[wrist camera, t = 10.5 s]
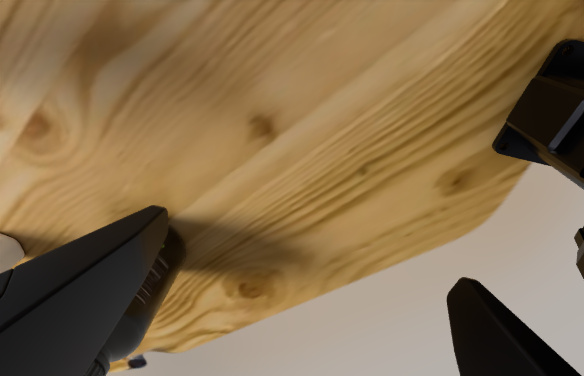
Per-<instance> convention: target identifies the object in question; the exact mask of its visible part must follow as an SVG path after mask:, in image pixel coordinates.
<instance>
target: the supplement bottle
mask: <svg viewBox="0 0 584 376" xmlns="http://www.w3.org/2000/svg"><path fill="white" fill-rule="evenodd" d="M185 256H186V251H185V247H184V244H183V242H182V240H181V238H180V237H179V236H178V235H177V233H176V232H175V231H174V230H172V229H171V228H170V227H168V233H167V236H166V238H165V240H164V242H163V244H162V246H161V248H160V250H159V252H158V254H157V256H156V258H155V260H154V262H153V264H152V267H151V269H150V271H149V273H148V275H147V276H146V278H145V280H144V282H143V284H142V285H141V287H140V289H139V290H138V292H137V293H136V295H135V296H134V298H133V299H132V301H131V303H130V304H129V306H128V307H127V309H126V310H125V312H124V314H123V315H122V317H121V318H120V320H119V321H118V323H117V324H116V326H115V328H114V329H113V331H112V332H111V334H110V335H109V337H108V338H107V340H106V342H105V343H104V345H103V346H102V348H101V349H100V351H99V352H98V354H97V356H96V357H95V359H94V360H93V362H92V363H91V365H90V366H89V368H88V370H87V371H86V373H85V374H84V376H106V374H107V373H108V371H109V369H110V363H109V362H114V361H118V360H120V359H123V358H125V357H126V356H128V355H129V354H131V353H132V352H133V351H134V350H135V349H136V348H137V347H138V346H139V344H140V343H141V341H142V340H143V338H144V336H145V334H146V332H147V330H148V329H149V327H150V325H151V323H152V321H153V319H154V318H155V316H156V314H157V312H158V310H159V308H160V306H161V305H162V303H163V301H164V299H165V297H166V295H167V294H168V292H169V290H170V288H171V286H172V284H173V283H174V281H175V279H176V277H177V275H178V273H179V271H180V269H181V267H182V266H183V263H184V261H185Z"/></svg>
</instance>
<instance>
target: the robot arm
mask: <svg viewBox="0 0 584 376" xmlns="http://www.w3.org/2000/svg"><path fill="white" fill-rule="evenodd" d="M567 46H569V49H568V51H567V52H566V53H565V54H562V52H563V49H564V48H565V47H567ZM506 121H507V122H506V123H505V125H504V126H503V128H502V129H501V131H500V132H499V134H498V136H497V137H496V139H495V140H494V142H493V144H492V148H493V149H494V151H496V152H497V153H499V154H502V155H506V156H511V157H515V158H519V159H523V160H527V161H531V162H536V163H540V164H544V165H548V166H552V167H554V168H555V169H556V170H558V171H559V172H560V173H562V174H563V175H564V176H566V177H567V178H569V179H570V180H571V181H573V182H574V183H576V184H577V185H578V186H579V187H581V188H582V189H584V42H581V41H577V40H571V39H565V40H562V41H560V42H559V43H557V44H556V46H555V47H554V48H553V50H552V51H551V53H550V54H549V56H548V57H547V59H546V61H545V62H544V64H543V65H542V67H541V68H540V70H539V71H538V73H537V75H536V76H535V78H533V79H532V80H531V81H530V83H529V85H528V86H527V88H526V89H525V91H524V92H523V94H522V96H521V97H520V99H519V100H518V102H517V103H516V105H515V107H514V108H513V110H512V111H511V113H510V114H509V116H508V118H507V119H506ZM503 143H505V145H504V146H503V147H501V148H499V147H500V145H501V144H503ZM167 233H168V211H167V209H166V208H164V207H160V206H156V205H151V206H149V207H147V208H144V209H142V210H140V211H138V212H135V213H133V214H131V215H129V216H127V217H124V218H122V219H120V220H118V221H116V222H113V223H111V224H109V225H107V226H104V227H102V228H100V229H98V230H96V231H93V232H91V233H89V234H87V235H84V236H82V237H80V238H78V239H76V240H73V241H71V242H69V243H67V244H65V245H62V246H60V247H58V248H56V249H53V250H51V251H49V252H47V253H45V254H42V255H40V256H38V257H36V258H33V259H31V260H29V261H27V262H25V263H22V264H20V265H18V266H16V267H15V268H14V269H9V270H7V271H4V272H2V273H0V376H84V374H85V373H86V371H87V370H88V368H89V366H90V365H91V363H92V362H93V360H94V359H95V357H96V356H97V354H98V352H99V351H100V349H101V348H102V346H103V345H104V343H105V342H106V340H107V338H108V337H109V335H110V334H111V332H112V331H113V329H114V328H115V326H116V324H117V323H118V321H119V320H120V318H121V317H122V315H123V314H124V312H125V310H126V309H127V307H128V306H129V304H130V303H131V301H132V299H133V298H134V296H135V295H136V293H137V292H138V290H139V289H140V287H141V285H142V284H143V282H144V280H145V278H146V276H147V275H148V273H149V271H150V269H151V267H152V264H153V262H154V260H155V258H156V256H157V254H158V252H159V250H160V248H161V246H162V244H163V242H164V240H165V238H166V236H167ZM574 239H575V241H576V243H577V246H578V248H579V250H578V252H577V263H576V265H577V267H578V269H579V271H580V273H581V275H582V277H583V279H584V227H583V228H580V229H579V230H578V232H577V233H576V235H575V237H574ZM447 307H448V314H449V320H450V327H451V334H452V340H453V346H454V352H455V356H456V360H457V365H458V368H459V372H460V376H581V375H580V374H579V373H578V372H577V371H576V370H575V369H574V368H573V367H571V366H570V365H569V364H568V363H567V362H566V361H565V360H564V359H563V358H562V357H561V356H559V355H558V354H557V353H556V352H555V351H554V350H553V349H552V348H551V347H549V346H548V345H547V344H546V343H545V342H544V341H543V340H542V339H541V338H540V337H539V336H537V334H535V333H534V332H533V331H532V330H531V329H530V328H529V327H528V326H527V325H526V324H525V323H523V322H522V321H521V320H520V319H519V318H518V317H517V316H515V314H513V313H512V312H511V311H510V310H509V309H508V308H507V307H506V306H505V305H504V304H503V303H502V302H500V301H499V300H498V299H497V298H496V297H495V296H494V295H493V294H492V293H491V292H489V291H488V290H487V289H486V288H485V287H484V286H483V285H482V284H481V283H480V282H478V281H477V280H475V279H470V278H466V277H462V278H460V279H459V280H458V282H457V283H456V284H455V285H454V286H453V288H452V289H451V290H450V291H449V293H448V295H447Z"/></svg>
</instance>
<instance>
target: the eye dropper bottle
mask: <svg viewBox="0 0 584 376" xmlns="http://www.w3.org/2000/svg"><path fill="white" fill-rule="evenodd" d="M24 256H25V254H24V251H23V249H22V247H21V245H20V244H19V242H18V241H17V240H15V239H13V238H11V237H9V236H6V235H3V234H0V273H2V272H4V271H7V270H9V269H10V268H11V267H13V266H14V265H15V264H16V263H17V262H19V261H20V260H21V259H22V258H23V257H24Z"/></svg>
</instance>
